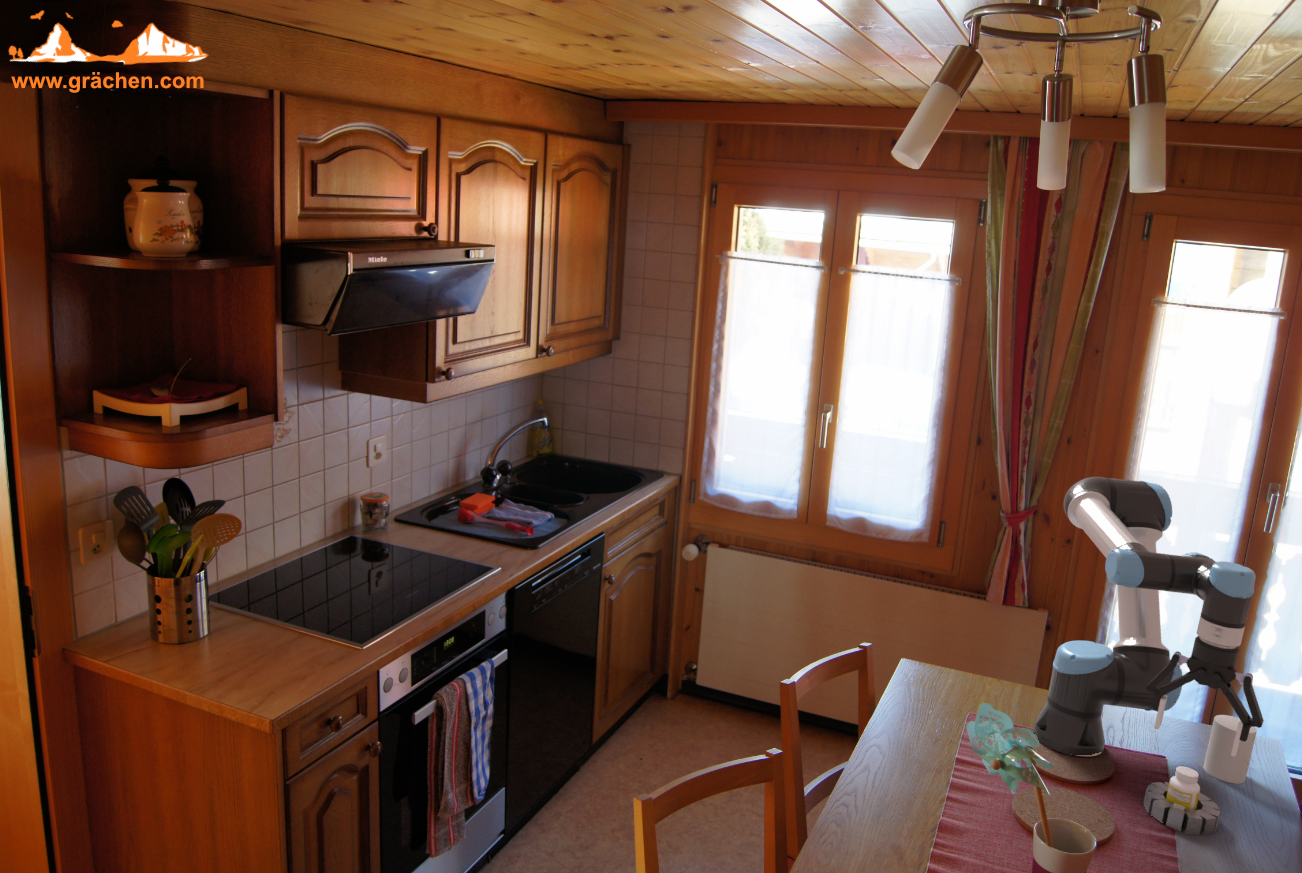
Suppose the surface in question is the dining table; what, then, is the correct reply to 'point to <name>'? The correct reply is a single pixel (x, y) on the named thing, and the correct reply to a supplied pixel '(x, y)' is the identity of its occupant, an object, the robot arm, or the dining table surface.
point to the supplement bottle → (1184, 788)
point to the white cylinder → (1228, 750)
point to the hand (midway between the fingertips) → (1194, 739)
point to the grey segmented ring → (1181, 811)
